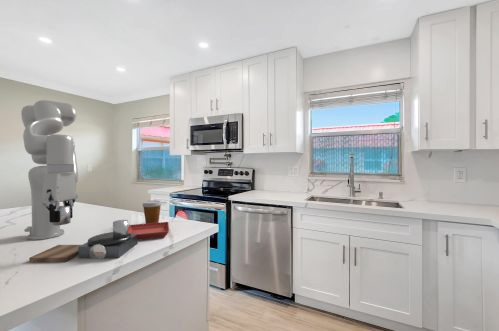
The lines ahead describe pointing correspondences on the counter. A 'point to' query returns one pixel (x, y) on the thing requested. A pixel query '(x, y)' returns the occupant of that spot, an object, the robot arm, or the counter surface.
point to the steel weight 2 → (120, 229)
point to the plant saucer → (149, 230)
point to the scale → (107, 246)
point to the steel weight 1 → (63, 215)
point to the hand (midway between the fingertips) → (61, 219)
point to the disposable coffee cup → (152, 211)
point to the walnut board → (56, 254)
